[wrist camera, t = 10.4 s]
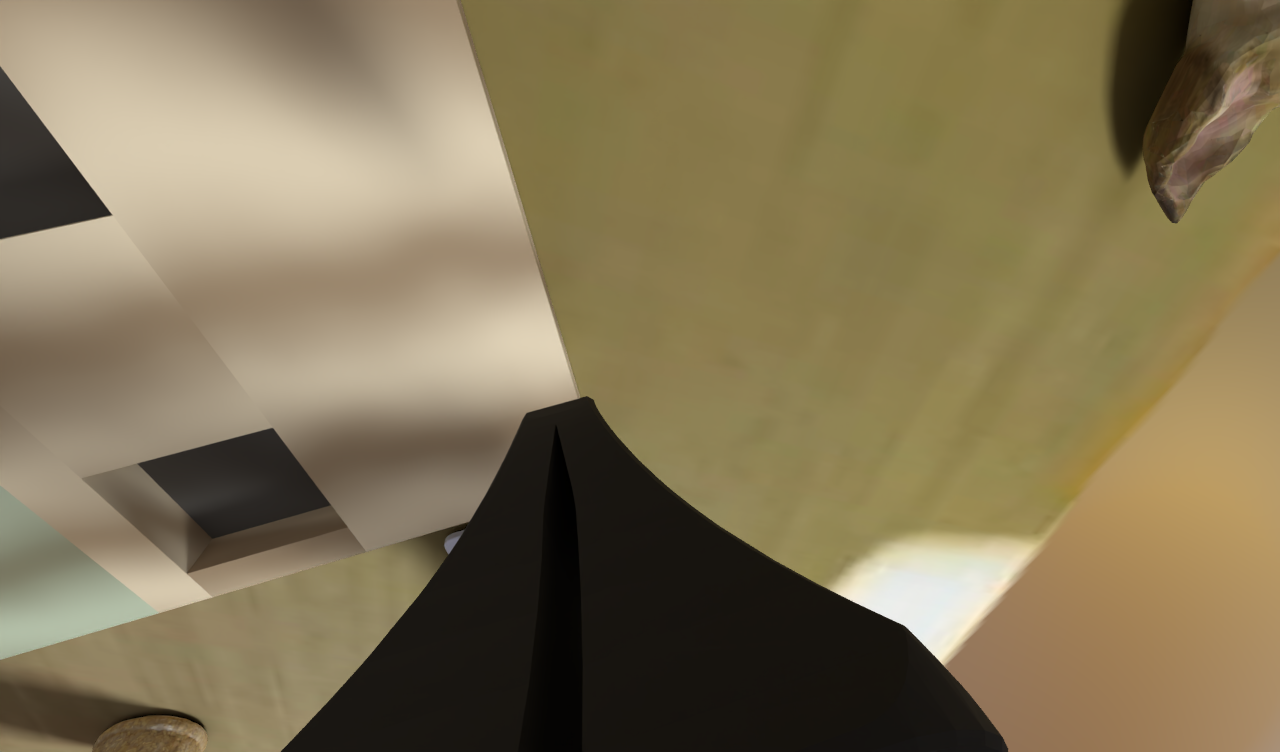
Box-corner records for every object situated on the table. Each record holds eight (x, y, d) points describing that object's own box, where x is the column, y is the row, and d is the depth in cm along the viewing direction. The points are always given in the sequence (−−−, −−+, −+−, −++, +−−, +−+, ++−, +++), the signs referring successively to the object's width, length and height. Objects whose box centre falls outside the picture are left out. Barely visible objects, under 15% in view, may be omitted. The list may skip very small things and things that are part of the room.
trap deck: (597, 453, 22) (611, 516, 18) (-14, 628, 19) (-131, 740, 16) (410, -168, 11) (360, -292, 8) (-971, 42, 9) (-1931, -8, 5)
